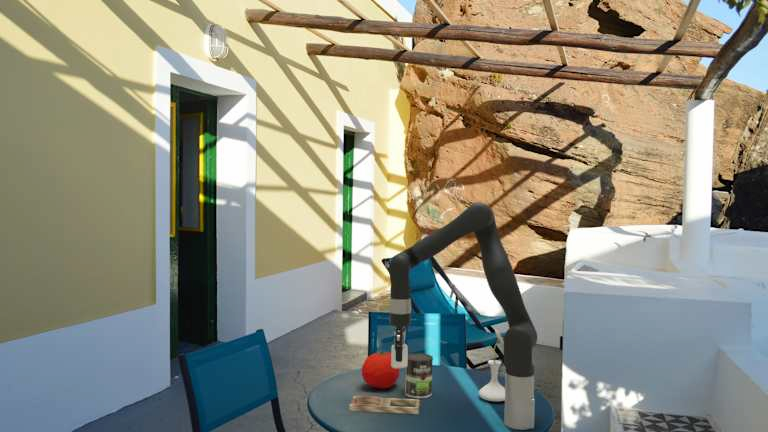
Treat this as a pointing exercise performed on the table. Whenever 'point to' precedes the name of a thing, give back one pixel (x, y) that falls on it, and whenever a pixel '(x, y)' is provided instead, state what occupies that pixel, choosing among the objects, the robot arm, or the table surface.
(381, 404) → the rail
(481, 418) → the table surface
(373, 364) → the tomato
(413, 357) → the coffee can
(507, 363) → the robot arm
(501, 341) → the flower in vase
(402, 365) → the eye dropper bottle
